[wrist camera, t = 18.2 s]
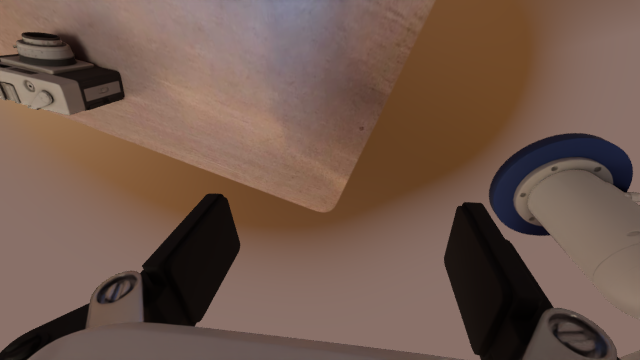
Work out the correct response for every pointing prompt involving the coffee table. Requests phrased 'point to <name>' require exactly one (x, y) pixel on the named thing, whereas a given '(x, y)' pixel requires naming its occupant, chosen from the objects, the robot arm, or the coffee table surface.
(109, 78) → the camera
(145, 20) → the coffee table surface
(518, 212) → the robot arm
